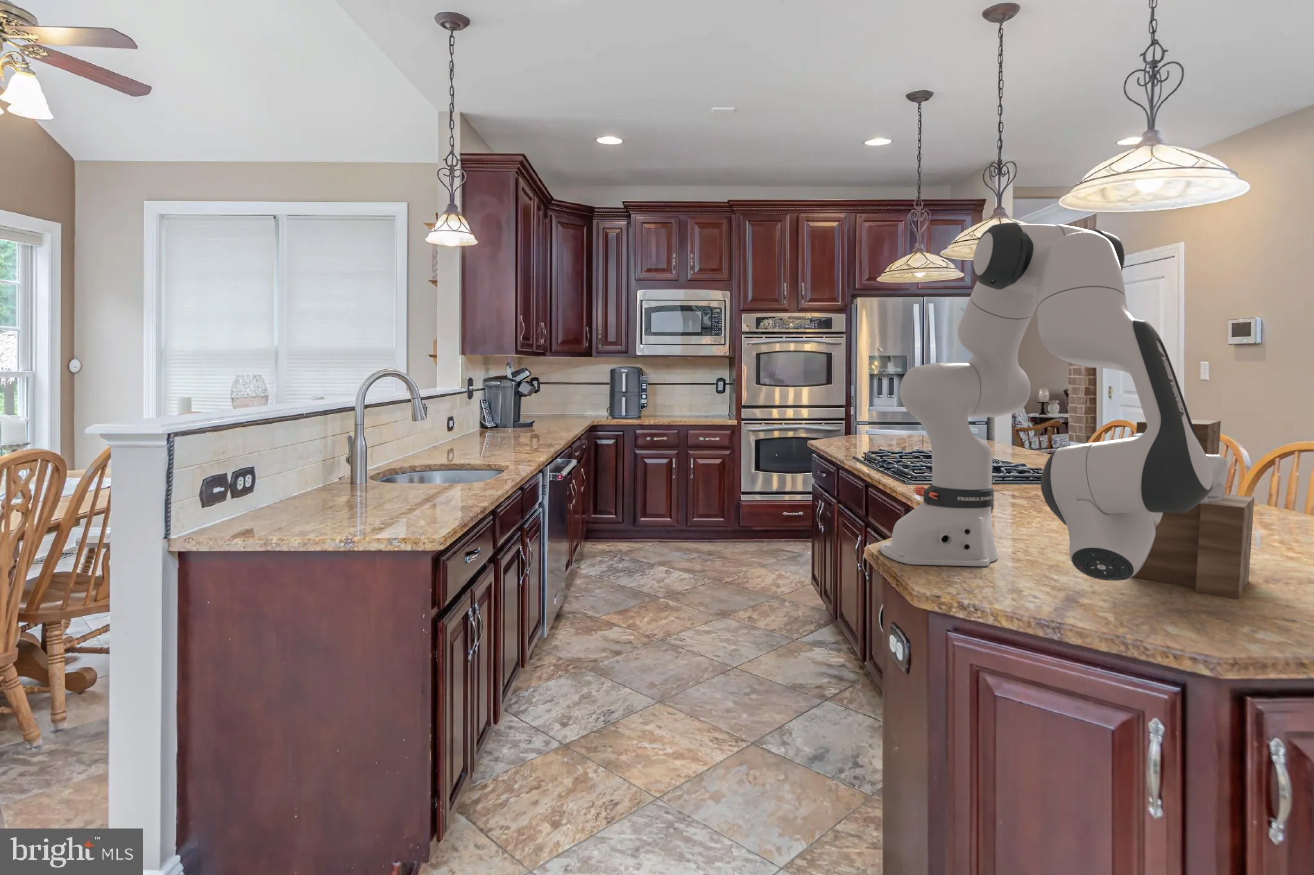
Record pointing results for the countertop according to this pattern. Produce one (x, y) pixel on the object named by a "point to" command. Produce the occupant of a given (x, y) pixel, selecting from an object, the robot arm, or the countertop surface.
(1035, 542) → the countertop surface
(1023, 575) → the countertop surface
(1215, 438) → the stand
